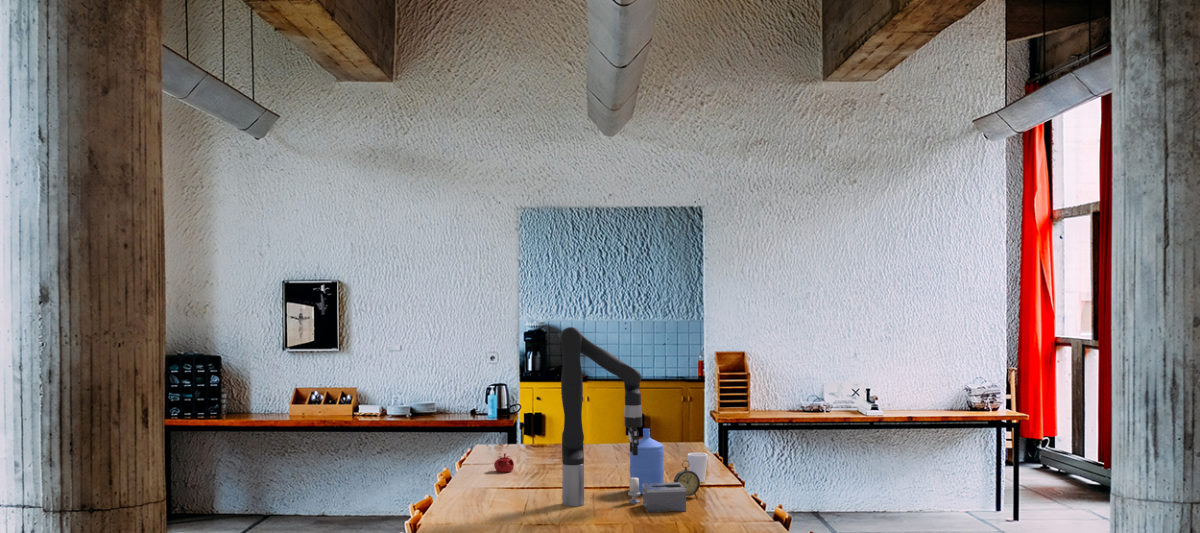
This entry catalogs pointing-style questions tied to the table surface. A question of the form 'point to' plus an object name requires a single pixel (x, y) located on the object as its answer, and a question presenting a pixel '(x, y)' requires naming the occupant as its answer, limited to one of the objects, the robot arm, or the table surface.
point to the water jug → (647, 461)
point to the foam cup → (698, 464)
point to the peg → (634, 490)
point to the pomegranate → (504, 464)
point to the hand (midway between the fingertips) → (633, 453)
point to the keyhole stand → (664, 497)
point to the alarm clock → (688, 481)
